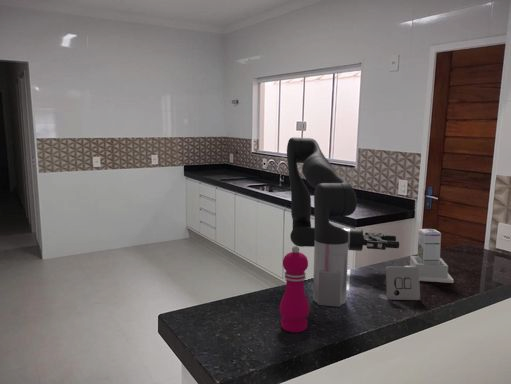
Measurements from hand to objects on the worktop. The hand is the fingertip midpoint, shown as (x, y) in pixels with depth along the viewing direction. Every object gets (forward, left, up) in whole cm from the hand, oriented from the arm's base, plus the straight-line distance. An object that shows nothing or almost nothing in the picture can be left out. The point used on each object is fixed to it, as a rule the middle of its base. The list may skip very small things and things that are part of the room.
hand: (397, 241), depth 141 cm
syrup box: (0, -10, -10) cm, 14 cm away
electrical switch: (-23, +2, -11) cm, 26 cm away
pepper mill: (-49, +30, -11) cm, 58 cm away
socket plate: (0, -10, -11) cm, 15 cm away
